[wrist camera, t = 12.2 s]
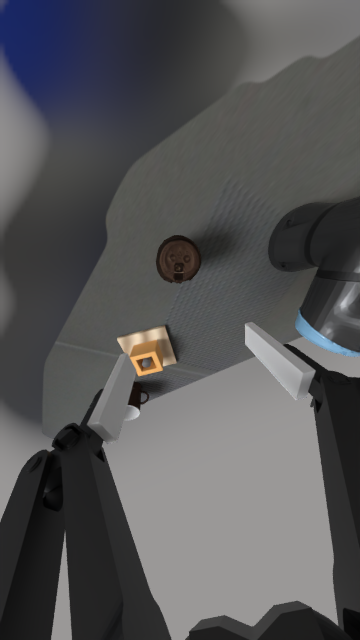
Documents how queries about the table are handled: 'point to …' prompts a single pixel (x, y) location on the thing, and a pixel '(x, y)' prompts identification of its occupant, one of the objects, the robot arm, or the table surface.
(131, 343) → the keeper post
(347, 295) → the robot arm
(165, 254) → the coffee cup
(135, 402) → the coffee mug
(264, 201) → the table surface
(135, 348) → the orange hollow block
